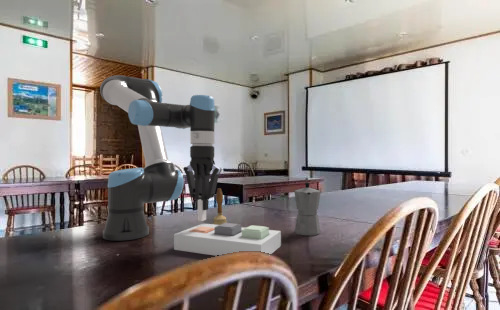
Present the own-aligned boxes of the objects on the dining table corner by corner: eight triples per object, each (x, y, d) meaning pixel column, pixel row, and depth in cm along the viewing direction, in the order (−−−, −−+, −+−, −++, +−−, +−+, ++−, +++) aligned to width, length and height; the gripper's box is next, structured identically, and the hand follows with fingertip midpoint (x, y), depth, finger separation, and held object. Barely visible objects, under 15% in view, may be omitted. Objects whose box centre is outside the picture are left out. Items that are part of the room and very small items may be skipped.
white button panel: (174, 249, 94) (173, 234, 94) (203, 236, 109) (203, 223, 109) (261, 262, 83) (261, 244, 83) (280, 246, 97) (280, 231, 97)
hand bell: (228, 235, 110) (227, 189, 110) (205, 234, 112) (205, 189, 112) (233, 230, 119) (233, 187, 119) (212, 229, 120) (212, 187, 120)
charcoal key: (214, 237, 94) (214, 226, 94) (224, 232, 100) (224, 222, 100) (232, 239, 92) (232, 227, 92) (241, 234, 97) (241, 223, 97)
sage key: (241, 240, 91) (241, 228, 91) (250, 235, 96) (250, 224, 96) (261, 242, 88) (261, 230, 88) (268, 237, 94) (268, 226, 94)
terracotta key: (189, 240, 98) (189, 229, 98) (200, 235, 103) (200, 225, 103) (206, 242, 96) (205, 231, 96) (216, 237, 101) (216, 227, 101)
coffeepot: (323, 237, 107) (323, 184, 107) (295, 236, 108) (294, 184, 108) (318, 227, 122) (317, 180, 122) (293, 226, 123) (293, 180, 123)
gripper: (178, 145, 99) (177, 220, 99) (214, 145, 93) (213, 224, 94) (191, 145, 106) (191, 216, 106) (226, 145, 100) (225, 219, 101)
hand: (202, 220), depth 100 cm, fingers closed
